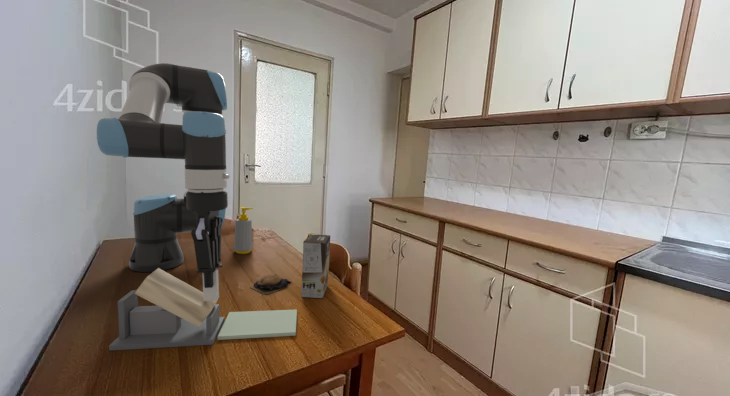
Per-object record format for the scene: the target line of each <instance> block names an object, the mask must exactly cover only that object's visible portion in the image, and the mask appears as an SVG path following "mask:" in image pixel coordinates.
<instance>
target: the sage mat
mask: <svg viewBox="0 0 730 396" xmlns="http://www.w3.org/2000/svg"><path fill="white" fill-rule="evenodd" d="M297 309H298V308H297ZM297 309H295V308H294V309H278V310H277V309H276V310H274V309H273V310H253V311H252V310H250V311H248V310H246V311H229V312H228V314H227V317H226V318H225V319H224V323H223V325H222V327H221V329H220V331H219V333H218V335H217V341H221V340H223V341H224V340H236V339H237V340H239V339H240V340H241V339H258V338H275V337H276V338H278V337H292V336H293V337H294V336H297V317H298V314H297V313H298V310H297Z"/></svg>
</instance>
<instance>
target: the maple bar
mask: <svg viewBox="0 0 730 396" xmlns="http://www.w3.org/2000/svg"><path fill="white" fill-rule="evenodd" d="M136 290H137V291H136V292H135V293H134V294H136V295H137V297H140V298H142V299H144V300H146V301H148V302H149V303H152V304H154V306H159V307H161V308H163V309H165V310H167V311H169V312H171V313H173V314H175V315H177V316H179V317H181V319H184V320H186V321H188V322H190V323H192V324H194V325H196V326H198V327H200V326H201V324H202V323H203V322H204V320H205V319H206V318H207V316H208V315H209V313H210V312H211V310H212V309H213V307H214V305H215V304H217V303H218V300H217V301H203V291H201V290H200V289H198V288H196V287H194V286H192V285H190V284H188V283H187V282H185V281H183V280H181V279H179V278H178V277H175V276H174V275H173V274H170V273H169V272H168V271H167V272H166V271H165V270H161V269H159V268H158V269H156V270H155V271H152V272H151V273H150V274H149V275H147V276H146V277H145V278H144V280H143V281H142V282H141V284H140V285H139V286H138V288H137V289H136Z"/></svg>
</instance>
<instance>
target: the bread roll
mask: <svg viewBox="0 0 730 396" xmlns="http://www.w3.org/2000/svg"><path fill="white" fill-rule="evenodd" d="M291 283H292V281H290V280H288V279H287V278H283V277H280V276H279V275H278V274H276V273H275V274H272V273H271V274H266V275H264V276H263V277H261V278H260V279H258V280H256V281H255V282H254V283H253V285H251V286H250V287H249V288H250V289H251V290H253V291H255V292H259V293H260V294H263V295H270V294H273V293H275V292H277V291H281V290H282V289H285V288H286V287H288V286H290V284H291Z"/></svg>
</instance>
